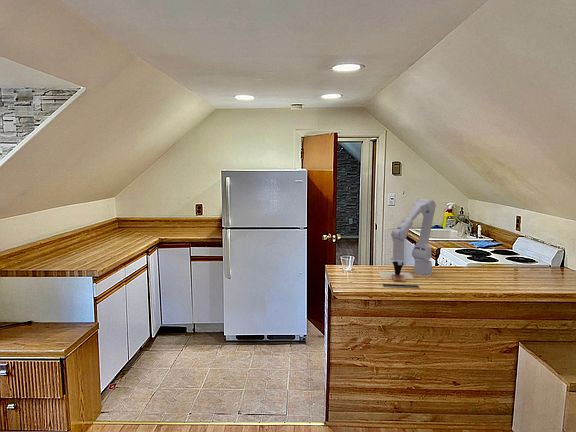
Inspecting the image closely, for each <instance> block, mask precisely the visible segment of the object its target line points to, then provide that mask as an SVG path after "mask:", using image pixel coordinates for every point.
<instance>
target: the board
mask: <svg viewBox="0 0 576 432" xmlns="http://www.w3.org/2000/svg"><path fill="white" fill-rule="evenodd" d="M377 272H378V275H379V277H380V278H381V279H392V274H394V275H395V271H377ZM400 275H404V278H405V280H407V279H408V280H409V279H410V280H414V279H415V278H414V276H413V275H412V273H411V272H402V271H401V272H400Z"/></svg>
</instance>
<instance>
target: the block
mask: <svg viewBox="0 0 576 432" xmlns="http://www.w3.org/2000/svg"><path fill="white" fill-rule="evenodd" d="M391 279H392V281H393V282H394V283H406V282H407V281H406V280H407V279H405V278H404V275H394V274H392V278H391Z"/></svg>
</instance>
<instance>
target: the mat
mask: <svg viewBox="0 0 576 432" xmlns="http://www.w3.org/2000/svg"><path fill="white" fill-rule="evenodd" d="M382 286H383V287H384V288H400V289H402V288H403V289H420V286H419V285H418V284H416V285H415V284H413V285H412V284H390V283H387V284H386V283H382Z"/></svg>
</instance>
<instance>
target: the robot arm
mask: <svg viewBox="0 0 576 432" xmlns="http://www.w3.org/2000/svg"><path fill="white" fill-rule="evenodd" d="M436 206H437V204H436V202H435V200H434V199H431V198H430V199H428V198H427V199H426V198H417V199H416V200H415V201H414V202H413V208H412V210H411V212H410V213H409V214H408V216H407V217H405V218H403V219H402V221H401V222H400V223H399V224H398V226H397V227H396V228H394V229H393V230H392V231H391V233H390V236H391V238H392V243H393V244H392V257H390V259H389V260H391V262H392V265H393V269H394V272H395V275H400V272H401V273H402V268H403V266H404V260H405V257H404V255H405V254H404V253H405V240H406V239H407V236H408V233H409V231H410V229H411V228H412V227H413V225H414V222H413V221H414V220H415V219H416V218H418V216H419V215H420V213H421V214H422V216H423V217H422V223H421V228H420V233H419V237H418V242H417V243H416V244H414V245H413V249H412V251H411V256H412V258H413V260H414V263H413V266H414V267H413V273H414V274H415V275H420V276H425V275H426V276H432V275H433V274H432V273H433V261H432V260H431V258H432V247H431V246H430V245H429V241H430V237H431V232H432V228H433V227H432V226H433V222H434V221H433V220H434V215H435V211H436Z"/></svg>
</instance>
